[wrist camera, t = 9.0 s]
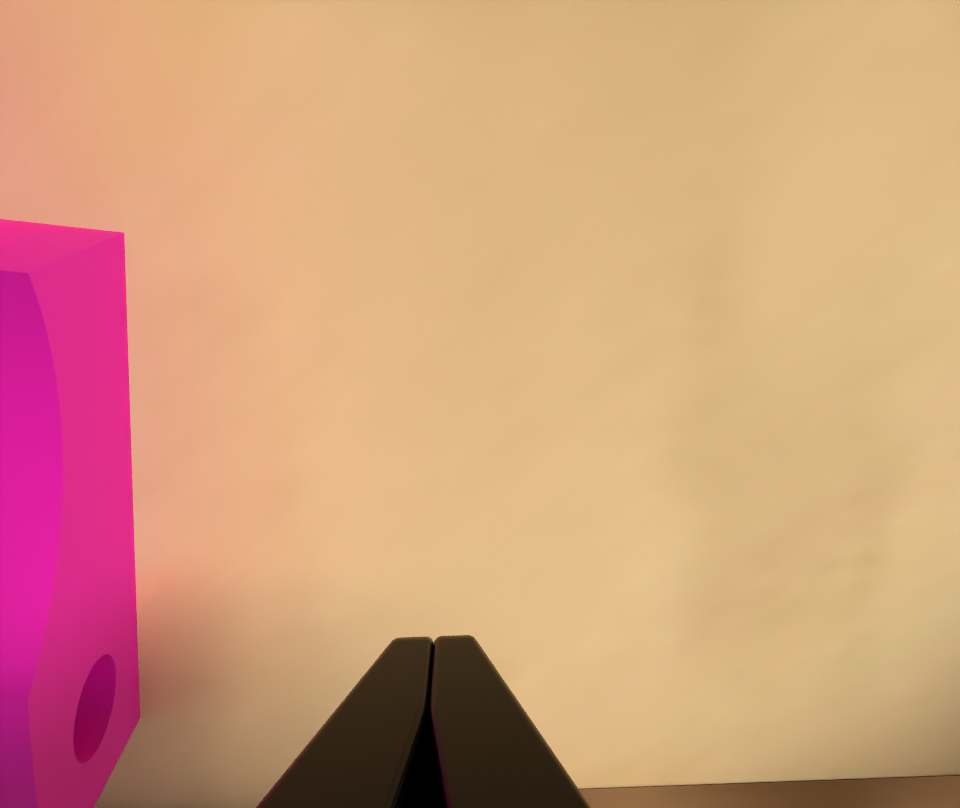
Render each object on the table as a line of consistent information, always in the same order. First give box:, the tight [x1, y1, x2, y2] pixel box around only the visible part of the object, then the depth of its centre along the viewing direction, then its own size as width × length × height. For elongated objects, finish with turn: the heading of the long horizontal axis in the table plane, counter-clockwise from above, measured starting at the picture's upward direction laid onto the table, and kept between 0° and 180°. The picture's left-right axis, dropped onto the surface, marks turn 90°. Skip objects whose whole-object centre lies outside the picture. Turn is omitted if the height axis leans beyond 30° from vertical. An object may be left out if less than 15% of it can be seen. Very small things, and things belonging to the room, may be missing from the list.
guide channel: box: [579, 776, 960, 808], centre depth 14 cm, size 13×21×2 cm, turn 1°
